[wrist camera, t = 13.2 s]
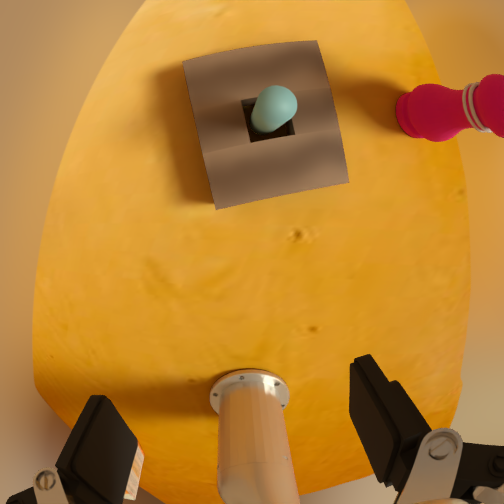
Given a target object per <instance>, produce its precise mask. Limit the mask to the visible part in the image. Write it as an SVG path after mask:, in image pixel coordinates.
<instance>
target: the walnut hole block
mask: <svg viewBox="0 0 504 504" xmlns="http://www.w3.org/2000/svg"><path fill="white" fill-rule="evenodd" d="M183 67H184V72H185V77H186V82H187V86H188V91H189V96H190V100H191V105H192V110H193V114H194V119H195V123H196V128H197V132H198V136H199V141H200V145H201V149H202V154H203V158H204V162H205V167H206V171H207V175H208V179H209V183H210V188H211V192H212V196H213V200H214V204H215V208H216V210H218V209H222V208H227V207H231V206H235V205H240V204H244V203H249V202H253V201H258V200H262V199H267V198H272V197H277V196H281V195H286V194H291V193H296V192H301V191H306V190H312V189H317V188H322V187H328V186H333V185H339V184H344V183H349V178H348V172H347V166H346V160H345V154H344V149H343V143H342V138H341V133H340V128H339V124H338V119H337V114H336V110H335V106H334V101H333V97H332V93H331V89H330V85H329V81H328V78H327V74H326V70H325V67H324V63H323V60H322V56H321V53H320V49H319V46H318V43H317V40H316V41H298V42H286V43H276V44H268V45H260V46H253V47H247V48H241V49H235V50H230V51H225V52H220V53H215V54H211V55H206V56H202V57H198V58H194V59H190V60H186V61H183ZM275 85H277V86H283V87H285V88H287V89H289V90H290V91H291V92H292V93H293V94H294V96H295V97H296V100H297V110H296V113H295V115H294V116H293V117H292V118H291V119H290V120H288V121H287V122H285V126H286V130H287V135H288V136H285V137H279V138H273V139H268V140H263V141H258V142H253V143H250V138H249V134H248V130H247V125H246V121H245V116H244V112H243V108H242V107H244V106H250V105H255V104H256V101H257V98H258V96H259V94H260V93H261V92H262V91H263V90H264V89H265V88H267V87H270V86H275Z"/></svg>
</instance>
